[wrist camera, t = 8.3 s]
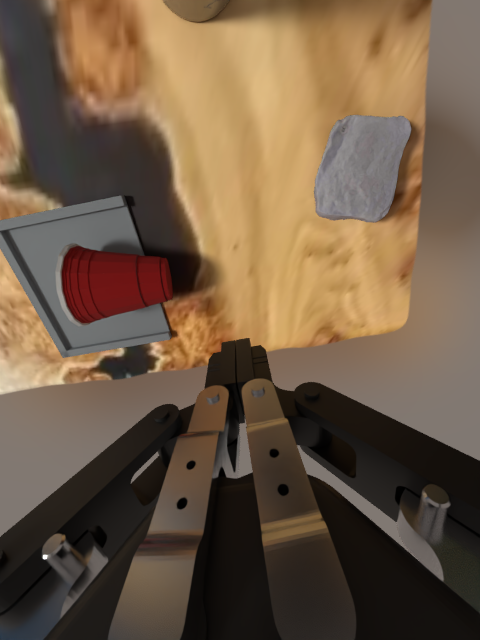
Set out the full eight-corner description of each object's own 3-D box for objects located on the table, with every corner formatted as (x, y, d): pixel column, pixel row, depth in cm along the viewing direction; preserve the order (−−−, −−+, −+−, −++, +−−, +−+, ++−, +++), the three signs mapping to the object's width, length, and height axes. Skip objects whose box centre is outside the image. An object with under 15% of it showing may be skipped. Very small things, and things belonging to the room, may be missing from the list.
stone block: (307, 219, 38) (378, 222, 37) (310, 220, 34) (391, 224, 32) (321, 122, 33) (403, 121, 32) (326, 108, 29) (421, 107, 28)
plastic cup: (157, 219, 31) (49, 226, 29) (166, 307, 29) (52, 319, 28) (171, 256, 41) (93, 262, 40) (178, 321, 40) (96, 331, 38)
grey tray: (124, 195, 34) (120, 195, 33) (171, 335, 44) (170, 339, 43) (-7, 222, 35) (-15, 223, 34) (67, 354, 45) (62, 357, 44)
